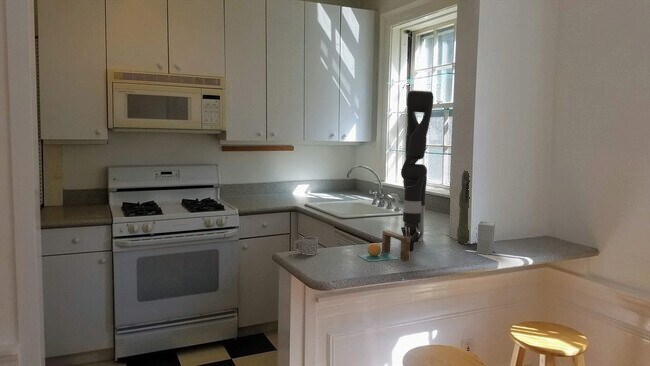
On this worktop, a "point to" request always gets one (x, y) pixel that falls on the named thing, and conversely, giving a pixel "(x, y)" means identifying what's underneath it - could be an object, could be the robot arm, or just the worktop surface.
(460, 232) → the olive green statue
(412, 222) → the robot arm
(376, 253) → the ball
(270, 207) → the worktop surface
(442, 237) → the worktop surface
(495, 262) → the worktop surface
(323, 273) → the worktop surface
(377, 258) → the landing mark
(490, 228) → the small box
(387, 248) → the bridge
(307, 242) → the mug
